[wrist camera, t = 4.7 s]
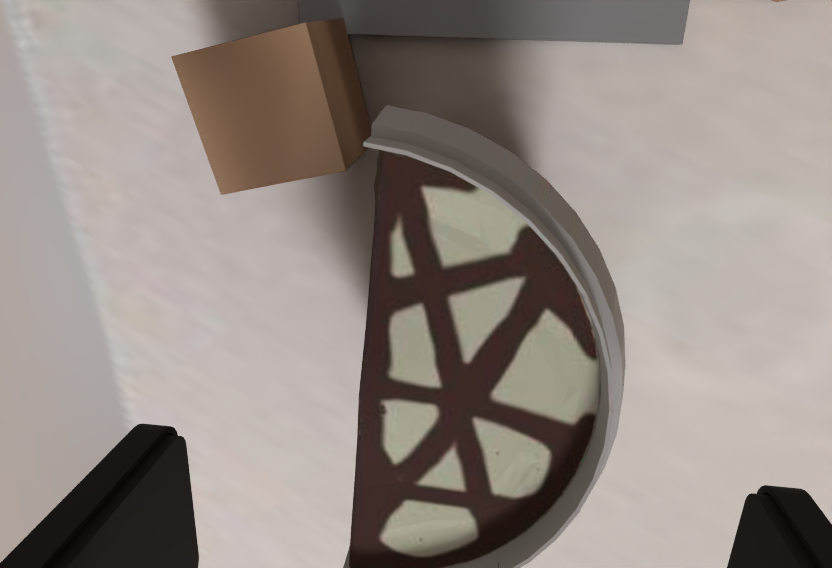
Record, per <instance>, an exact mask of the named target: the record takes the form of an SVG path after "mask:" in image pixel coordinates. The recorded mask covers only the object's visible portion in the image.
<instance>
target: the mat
mask: <svg viewBox="0 0 832 568" xmlns="http://www.w3.org/2000/svg"><path fill="white" fill-rule="evenodd" d="M689 3H690V0H299V24H301V23H305V22H314V21H322V20H331V19H340V18H344V22H345V26H346V30H347V34H355V35H387V36H419V37H451V38H483V39H515V40H547V41H579V42H611V43H643V44H675V45H680V44H683V38H684V32H685V26H686V20H687V15H688V9H689Z"/></svg>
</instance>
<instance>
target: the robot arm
mask: <svg viewBox="0 0 832 568" xmlns="http://www.w3.org/2000/svg"><path fill="white" fill-rule="evenodd" d="M198 562H199V554H198V545H197V536H196V527H195V518H194V510H193V501H192V492H191V483H190V474H189V465H188V456H187V447H186V441H185V439H184V437H182V436H178V435H177V431H176V430H175V428H173V427H171V426H161V425H150V424H138V425H137V426H136V427H134V428H133V429H132V430H131V431H130V432H129V433H128V434H127V435H126V436H125V437H124V438H123V439H122V440H121V441H120V442H119V443H118V444H117V445H116V446H115V447H114V449H112V450H111V451H110V452H109V453H108V454H107V455H106V457H105V458H104V459H103V460H102V461H101V462H100V463H99V464H98V465H97V466H96V467H95V468H94V469H93V470H92V471H91V472H90V473H89V474H88V475H87V476H86V477H85V478H84V479H83V480H82V481H81V482H80V483H79V484H78V485H77V486H76V487H75V488H74V489H73V490H72V491H71V492H70V493H69V494H68V495H67V496H66V497H65V498H64V499H63V500H62V501H61V502H60V503H59V504H58V505H57V506H56V507H55V508H54V509H53V510H52V511H51V512H50V513H49V514H48V515H47V517H45V518H44V519H43V520H42V521H41V522H40V524H38V525H37V526H36V528H34V529H33V530H32V531H31V533H30V534H29V535H28V536H27V537H26V538H25V539H24V540H23V541H22V542H21V543H20V544H19V545H18V546H17V547H16V548H15V549H14V550H13V551H12V552H11V553H10V554H9V555H8V556H7V557H6V558H5V559H4V560H3V561H2V562H1V563H0V568H198ZM727 568H832V524H831V523H830V522H829V520H828V519H827V518H826V516H825V515H824V514H823V512H822V511H821V510H820V508H819V507H818V506H817V504H816V503H815V501H814V500H813V499H812V497H811V496H810V495H809V494H808V493H807V492H806V491H805V490H802V489H797V488H786V487H776V486H766V485H765V486H761V488H760V489H759V490H758V492H757V494H749V495H748V496H747V498H746V500H745V503H744V507H743V511H742V515H741V518H740V522H739V526H738V529H737V533H736V537H735V540H734V544H733V548H732V552H731V555H730V559H729V563H728V566H727Z"/></svg>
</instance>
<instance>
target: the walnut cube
mask: <svg viewBox="0 0 832 568" xmlns="http://www.w3.org/2000/svg"><path fill="white" fill-rule="evenodd" d="M172 60H173V63H174V65H175V68H176V71H177V74H178V77H179V79H180V82H181V85H182V88H183V90H184V93H185V96H186V99H187V101H188V104H189V107H190V110H191V113H192V115H193V118H194V121H195V124H196V126H197V129H198V132H199V135H200V138H201V140H202V143H203V146H204V149H205V151H206V154H207V157H208V160H209V162H210V165H211V168H212V171H213V174H214V176H215V179H216V182H217V185H218V187H219V190H220V193H221V195H223V194H228V193H233V192H238V191H243V190H249V189H254V188H259V187H264V186H269V185H274V184H280V183H285V182H290V181H295V180H300V179H305V178H311V177H316V176H321V175H326V174H331V173H336V172H342V171H346V170H347V169H348V168H349V167H350V166H351V165H352V164H353V163H354V162H355V161H356V160H357V159H358V158H359V157H360V156H361V155H362V153H363V152H364V151H365V150H366V149H367V148H368V147H364V146H363V143H364V141H365V140H367V139H368V138H369V137H371V126H370V122H369V118H368V114H367V110H366V106H365V102H364V98H363V94H362V90H361V86H360V82H359V78H358V74H357V70H356V66H355V62H354V58H353V54H352V50H351V46H350V42H349V38H348V34H347V30H346V26H345V22H344V18H340V19H331V20H322V21H314V22H305V23H301V24H297V25H293V26H290V27H286V28H282V29H278V30H274V31H270V32H266V33H262V34H258V35H254V36H250V37H246V38H242V39H239V40H235V41H231V42H227V43H223V44H219V45H215V46H211V47H207V48H203V49H199V50H195V51H191V52H188V53H184V54H180V55H176V56H172Z"/></svg>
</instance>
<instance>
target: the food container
mask: <svg viewBox="0 0 832 568" xmlns="http://www.w3.org/2000/svg"><path fill="white" fill-rule="evenodd" d="M363 146H364V147H369V148H374V149H379V155H378V163H377V174H376V179H375V184H374V188H375V222H374V235H373V247H372V259H371V271H370V283H369V295H368V307H367V320H366V330H365V340H364V350H363V360H362V371H361V381H360V391H359V410H358V436H357V453H356V469H355V483H354V497H353V511H352V525H351V541H350V547H349V551H348V554H347V557H346V561H345V564H344V567H343V568H520V567H522V566H524V565H525V564H527V563H529V562H530V561H532V560H533V559H534V558H535V557H536V556H537V555H539V554H540V553H541V552H542V551H543V550H544V549H546V548H547V547H548V546H549V545H550V544H552V543H553V542H554V541H555V540H556V539H557V538H558V537H559V536H560V535H561V533H562V532H563V531H564V530H565V529H566V527H567V526H568V525H569V524H570V523H571V521H572V520H573V519H574V518H575V517H576V515H577V514H578V513H579V511H580V510H581V508H582V506H583V504H584V503H585V501H586V499H587V497H588V496H589V494H590V492H591V490H592V489H593V487H594V485H595V484H596V482H597V480H598V478H599V477H600V475H601V473H602V471H603V470H604V468H605V465H606V462H607V460H608V457H609V454H610V451H611V448H612V446H613V443H614V440H615V437H616V434H617V429H618V423H619V416H620V410H621V404H622V397H623V387H624V375H625V342H624V324H623V320H622V315H621V311H620V306H619V302H618V297H617V293H616V288H615V285H614V283H613V281H612V278H611V276H610V273H609V271H608V269H607V266H606V264H605V261H604V259H603V257H602V254H601V252H600V249H599V248H598V246H597V245H596V243H595V241H594V240H593V238H592V237H591V235H590V234H589V232H588V230H587V229H586V227H585V226H584V224H583V223H582V221H581V219H580V218H579V216H578V215H577V213H576V212H575V211H574V210H573V209H572V208H571V206H570V205H569V204H568V203H567V202H566V201H565V200H564V199H563V198H562V196H561V195H560V194H559V193H558V192H557V191H556V190H555V189H554V188H553V187H552V185H551V184H550V183H549V182H548V181H547V180H546V179H545V178H544V177H542V176H541V175H540V174H538V173H537V172H536V171H535V170H533V169H532V168H531V167H530V166H528V165H527V164H526V163H525V162H523V161H522V160H521V159H520V158H518V157H517V156H516V155H515V154H513V153H512V152H511V151H509V150H507V149H506V148H504V147H502V146H500V145H498V144H497V143H495V142H493V141H491V140H489V139H488V138H486V137H484V136H482V135H481V134H479V133H477V132H475V131H473V130H472V129H469V128H467V127H464V126H461V125H459V124H456V123H453V122H450V121H448V120H445V119H442V118H439V117H437V116H434V115H431V114H428V113H425V112H420V111H414V110H409V109H404V108H399V107H394V106H389V105H386V106H385V107H384V109H383V110H382V111H381V113H380V114H379V115H378V117H377V118H376V119H375V121H374V122H373V123H372V129H371V137H369V138H368V139H367V140H365V141H364V143H363Z"/></svg>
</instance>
